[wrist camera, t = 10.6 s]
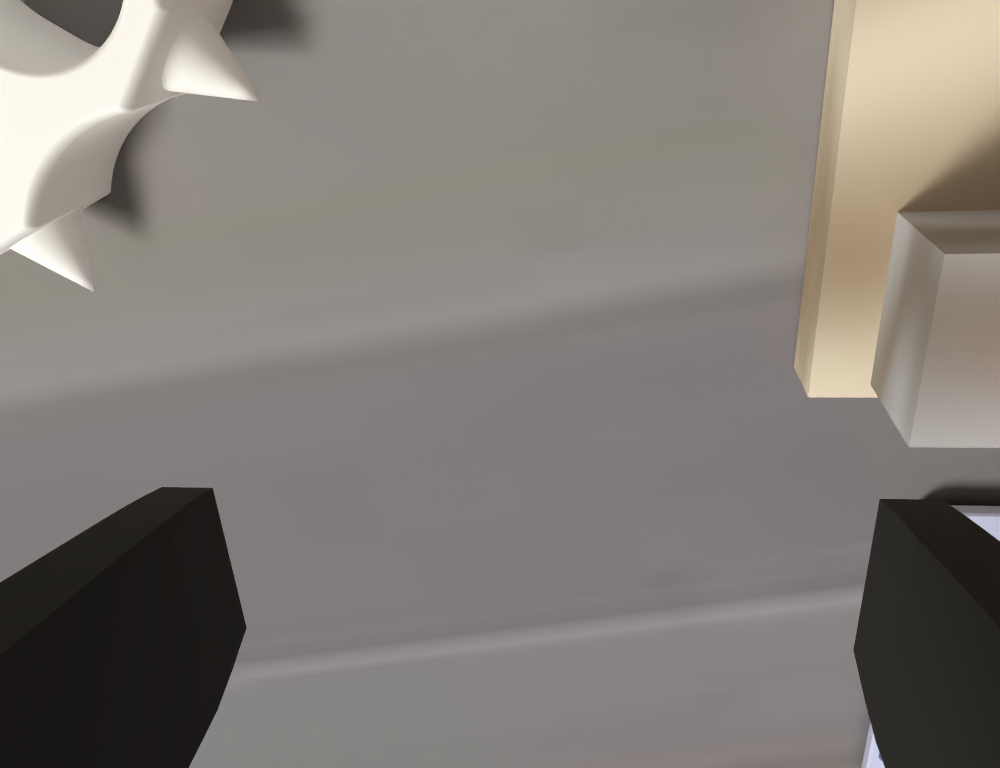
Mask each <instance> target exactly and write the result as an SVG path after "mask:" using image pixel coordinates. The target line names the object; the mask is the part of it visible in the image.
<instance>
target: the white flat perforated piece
mask: <svg viewBox="0 0 1000 768" xmlns="http://www.w3.org/2000/svg"><path fill="white" fill-rule="evenodd" d="M232 3H233V0H123V4H122V9H121V12H120V15H119V18H118V20H117V23H116V25H115V27H114V29H113V31H112V32H111V34H110V36H109V37H108V39H107V40H106V41H105V42H104V44H103V45H102V46H101V47H100V48H99V47H96V46H93V45H91V44H89V43H87V42H85V41H83V40H81V39H79V38H77V37H76V36H74V35H72V34H70V33H69V32H67V31H65V30H64V29H62V28H60V27H58V26H57V25H55V24H53V23H52V22H50V21H48V20H46V19H45V18H43V17H41V16H40V15H38V14H37V13H35V12H34V11H33V10H31V9H30V8H29V7H28V6H27V5H25V4H24V3H23V2H22V1H21V0H0V254H2V253H4V252H6V251H8V250H10V249H12V250H14V251H16V252H18V253H20V254H22V255H24V256H26V257H28V258H30V259H31V260H33V261H35V262H37V263H39V264H41V265H43V266H45V267H47V268H49V269H51V270H53V271H55V272H57V273H59V274H60V275H62V276H64V277H66V278H68V279H70V280H72V281H74V282H76V283H78V284H80V285H82V286H84V287H86V288H88V289H89V290H91V291H93V292H94V289H93V283H92V277H91V272H90V266H89V260H88V255H87V249H86V243H85V238H84V232H83V227H82V221H81V215H80V211H81V210H83V209H85V208H86V207H88V206H90V205H91V204H93V203H95V202H96V201H98V200H100V199H101V198H103V197H105V196H106V195H108V194H109V193H110V192H111V182H112V175H113V170H114V166H115V162H116V159H117V156H118V153H119V151H120V149H121V146H122V144H123V142H124V141H125V139H126V137H127V136H128V134H129V133H130V131H131V130H132V128H133V127H134V126H135V125H136V124H137V122H138V121H139V120H140V119H141V118H142V117H143V116H144V115H145V114H147V113H148V112H149V111H150V110H152V109H153V108H154V107H156V106H157V105H159V104H161V103H162V102H164V101H166V100H168V99H171V98H174V97H177V96H180V95H183V94H186V93H191V94H200V95H208V96H217V97H225V98H234V99H242V100H251V101H259V102H262V101H261V100H260V98H259V97H258V95H257V93H256V92H255V90H254V89H253V87H252V85H251V84H250V82H249V81H248V79H247V77H246V76H245V74H244V72H243V71H242V69H241V68H240V66H239V64H238V63H237V61H236V60H235V58H234V56H233V55H232V53H231V52H230V50H229V48H228V47H227V45H226V43H225V42H224V40H223V39H222V37H221V35H220V32H221V30H222V27H223V25H224V22H225V20H226V18H227V15H228V13H229V10H230V8H231V5H232Z"/></svg>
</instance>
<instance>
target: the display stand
mask: <svg viewBox="0 0 1000 768" xmlns="http://www.w3.org/2000/svg"><path fill="white" fill-rule="evenodd" d="M794 367H795V369H796V372H797V374H798V376H799V378H800V380H801V383H802V385H803V387H804V389H805V391H806V393H807V396H808V397H878V398H879V399H880V401H881V403H882V404H883V406H884V407H885V409H886V411H887V412H888V414H889V416H890V417H891V419H892V420H893V422H894V424H895V425H896V427H897V429H898V430H899V432H900V433H901V435H902V437H903V438H904V440H905V442H906V443H907V445H908V446H909V447H955V448H1000V0H835V2H834V11H833V20H832V29H831V38H830V47H829V56H828V65H827V74H826V83H825V92H824V101H823V110H822V119H821V128H820V137H819V146H818V155H817V164H816V173H815V182H814V191H813V200H812V209H811V218H810V227H809V236H808V245H807V254H806V263H805V272H804V281H803V290H802V299H801V308H800V317H799V326H798V335H797V344H796V353H795V362H794Z"/></svg>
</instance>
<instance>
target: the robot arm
mask: <svg viewBox="0 0 1000 768" xmlns="http://www.w3.org/2000/svg"><path fill="white" fill-rule="evenodd" d="M245 630H246V624H245V620H244V616H243V612H242V608H241V603H240V599H239V595H238V591H237V587H236V583H235V579H234V574H233V570H232V566H231V562H230V558H229V554H228V550H227V546H226V541H225V537H224V533H223V529H222V525H221V521H220V517H219V513H218V508H217V504H216V500H215V496H214V492H213V488H179V487H161V488H159V489H157V490H155V491H153V492H151V493H149V494H147V495H145V496H143V497H141V498H140V499H138V500H136V501H134V502H132V503H131V504H129V505H127V506H125V507H124V508H122V509H120V510H118V511H117V512H115V513H113V514H112V515H110V516H108V517H107V518H105V519H103V520H102V521H100V522H98V523H97V524H95V525H93V526H92V527H90V528H89V529H87V530H85V531H84V532H82V533H80V534H79V535H77V536H75V537H74V538H72V539H71V540H69V541H67V542H66V543H64V544H62V545H61V546H59V547H58V548H56V549H54V550H53V551H51V552H49V553H48V554H46V555H45V556H43V557H41V558H40V559H38V560H36V561H35V562H33V563H31V564H30V565H28V566H27V567H25V568H23V569H22V570H20V571H18V572H17V573H15V574H13V575H12V576H10V577H9V578H7V579H5V580H4V581H2V582H0V768H189V766H190V764H191V762H192V760H193V758H194V756H195V754H196V752H197V750H198V748H199V746H200V744H201V742H202V740H203V738H204V736H205V734H206V732H207V730H208V728H209V726H210V724H211V722H212V720H213V718H214V716H215V714H216V712H217V710H218V707H219V704H220V701H221V699H222V696H223V693H224V691H225V688H226V685H227V683H228V680H229V677H230V675H231V672H232V669H233V666H234V663H235V660H236V657H237V654H238V651H239V648H240V645H241V642H242V639H243V636H244V633H245ZM854 654H855V658H856V663H857V667H858V672H859V676H860V680H861V685H862V689H863V693H864V698H865V702H866V706H867V710H868V714H869V718H870V727H869V732H868V737H867V742H866V747H865V752H864V758H863V763H862V768H1000V506H957V505H949V504H948V503H946V502H945V501H943V500H911V499H880V501H879V507H878V513H877V518H876V524H875V530H874V536H873V541H872V547H871V553H870V559H869V564H868V570H867V576H866V582H865V587H864V593H863V599H862V605H861V610H860V616H859V622H858V628H857V633H856V639H855V645H854Z"/></svg>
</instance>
